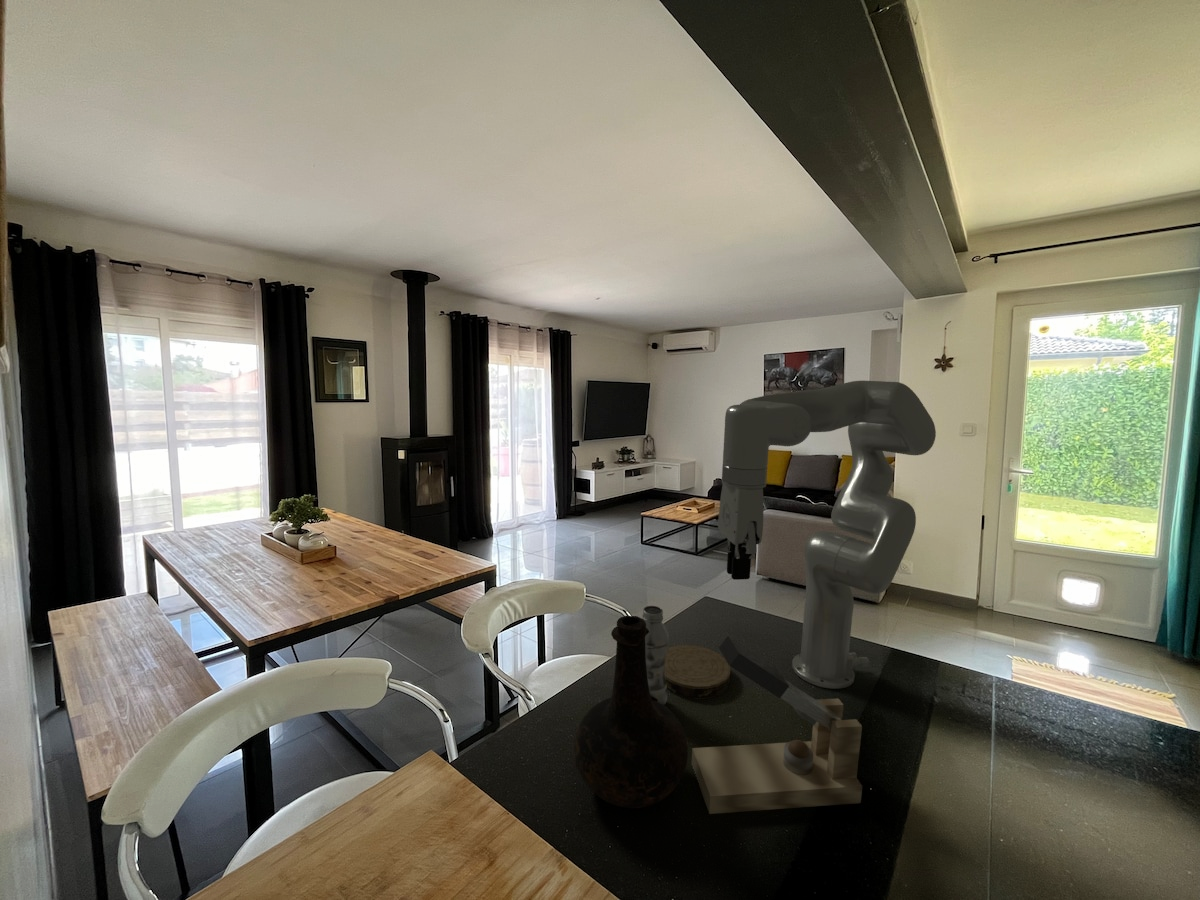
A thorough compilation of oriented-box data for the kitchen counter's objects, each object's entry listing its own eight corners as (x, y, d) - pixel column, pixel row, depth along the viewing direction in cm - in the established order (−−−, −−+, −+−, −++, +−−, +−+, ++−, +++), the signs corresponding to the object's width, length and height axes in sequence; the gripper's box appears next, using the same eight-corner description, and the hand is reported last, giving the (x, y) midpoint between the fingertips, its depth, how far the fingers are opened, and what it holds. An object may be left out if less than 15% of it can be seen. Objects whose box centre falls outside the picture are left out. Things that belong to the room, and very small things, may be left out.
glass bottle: (697, 762, 90) (705, 607, 85) (666, 849, 74) (673, 664, 69) (601, 731, 97) (604, 587, 92) (554, 804, 81) (554, 634, 76)
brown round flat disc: (686, 709, 104) (686, 695, 103) (641, 668, 118) (641, 655, 117) (746, 686, 112) (746, 673, 111) (697, 650, 125) (697, 638, 125)
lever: (821, 721, 87) (834, 706, 87) (838, 743, 83) (851, 726, 82) (714, 652, 83) (727, 635, 83) (725, 671, 79) (739, 653, 78)
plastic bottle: (666, 717, 101) (669, 619, 97) (630, 712, 102) (633, 615, 99) (668, 697, 107) (672, 604, 104) (635, 692, 108) (637, 600, 105)
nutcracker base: (827, 755, 92) (833, 692, 90) (860, 803, 82) (868, 733, 80) (691, 764, 89) (694, 699, 87) (709, 813, 79) (713, 742, 77)
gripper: (709, 467, 100) (704, 560, 103) (739, 486, 84) (732, 595, 87) (748, 467, 100) (742, 559, 103) (784, 486, 85) (776, 594, 88)
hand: (738, 575), depth 95 cm, fingers closed
